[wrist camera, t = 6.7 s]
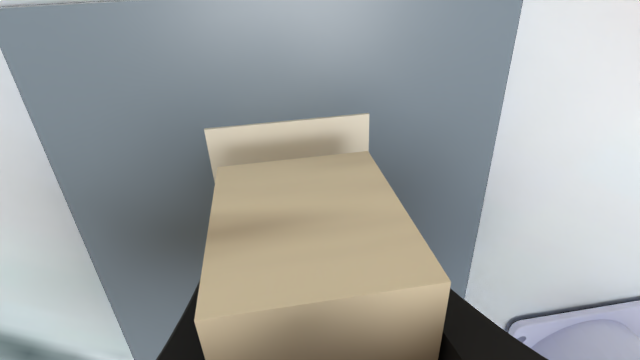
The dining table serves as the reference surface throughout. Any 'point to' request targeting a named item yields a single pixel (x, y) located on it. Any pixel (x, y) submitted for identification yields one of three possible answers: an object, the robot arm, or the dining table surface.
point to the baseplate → (253, 119)
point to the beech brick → (316, 266)
